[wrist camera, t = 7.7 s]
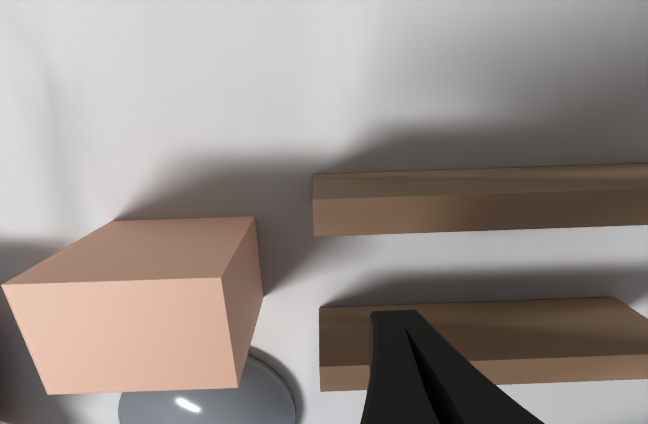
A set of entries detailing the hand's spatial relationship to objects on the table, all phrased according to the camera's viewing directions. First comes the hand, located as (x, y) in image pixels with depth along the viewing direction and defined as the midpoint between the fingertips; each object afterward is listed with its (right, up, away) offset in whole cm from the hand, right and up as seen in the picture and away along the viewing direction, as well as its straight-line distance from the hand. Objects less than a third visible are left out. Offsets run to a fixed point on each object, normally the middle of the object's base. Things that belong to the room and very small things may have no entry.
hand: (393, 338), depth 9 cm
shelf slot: (+5, +2, +5) cm, 7 cm away
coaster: (-8, -7, +8) cm, 13 cm away
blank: (-8, +2, +5) cm, 9 cm away
